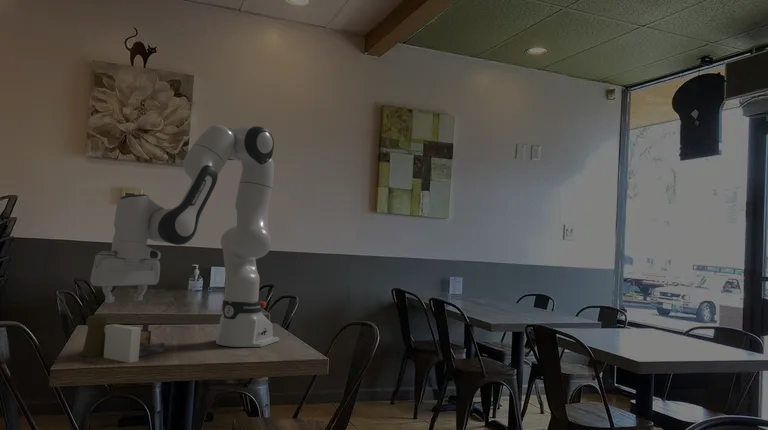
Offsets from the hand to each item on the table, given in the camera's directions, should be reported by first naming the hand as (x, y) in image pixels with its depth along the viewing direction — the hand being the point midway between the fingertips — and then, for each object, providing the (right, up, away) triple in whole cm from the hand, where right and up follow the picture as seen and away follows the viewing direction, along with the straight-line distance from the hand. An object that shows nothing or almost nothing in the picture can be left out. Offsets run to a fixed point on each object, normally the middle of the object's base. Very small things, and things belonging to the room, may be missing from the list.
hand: (124, 302), depth 158 cm
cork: (-10, -16, +3) cm, 19 cm away
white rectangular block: (-1, -16, -1) cm, 16 cm away
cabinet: (-3, -16, +10) cm, 19 cm away
